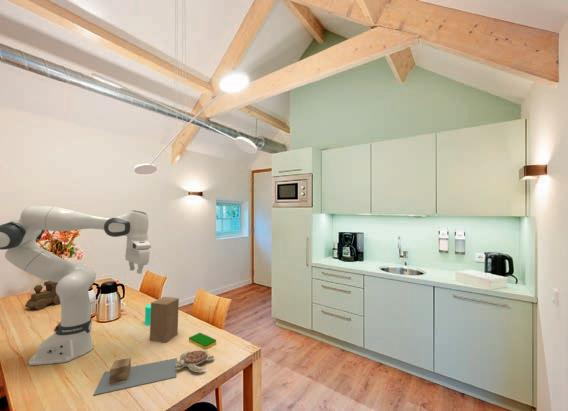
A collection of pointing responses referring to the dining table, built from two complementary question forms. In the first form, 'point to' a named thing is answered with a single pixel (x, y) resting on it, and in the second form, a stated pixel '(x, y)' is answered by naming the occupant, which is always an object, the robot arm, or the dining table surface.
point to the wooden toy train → (43, 296)
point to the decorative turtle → (193, 360)
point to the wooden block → (164, 319)
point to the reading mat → (140, 376)
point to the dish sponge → (202, 341)
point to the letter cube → (120, 371)
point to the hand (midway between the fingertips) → (135, 271)
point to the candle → (147, 314)
